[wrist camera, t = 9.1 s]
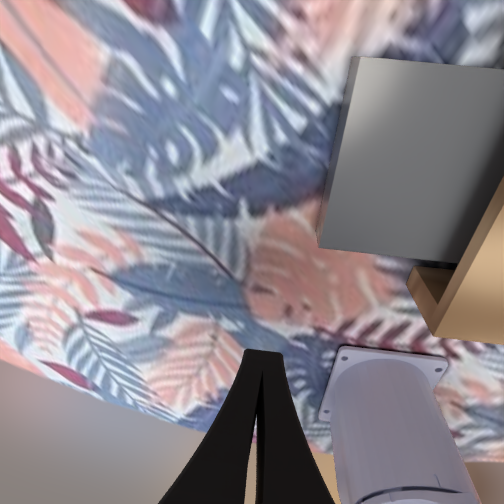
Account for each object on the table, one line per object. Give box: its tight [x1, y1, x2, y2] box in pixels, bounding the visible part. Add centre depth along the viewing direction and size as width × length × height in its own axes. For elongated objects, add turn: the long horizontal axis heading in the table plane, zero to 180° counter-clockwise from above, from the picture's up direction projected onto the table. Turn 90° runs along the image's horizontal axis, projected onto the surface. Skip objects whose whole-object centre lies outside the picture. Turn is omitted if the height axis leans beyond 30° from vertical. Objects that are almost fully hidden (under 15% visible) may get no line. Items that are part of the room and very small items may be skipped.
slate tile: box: [316, 57, 504, 264], centre depth 16 cm, size 9×12×2 cm
